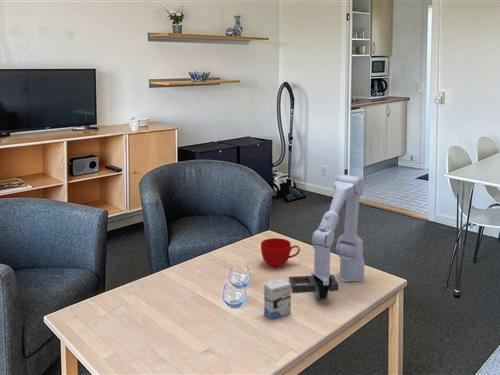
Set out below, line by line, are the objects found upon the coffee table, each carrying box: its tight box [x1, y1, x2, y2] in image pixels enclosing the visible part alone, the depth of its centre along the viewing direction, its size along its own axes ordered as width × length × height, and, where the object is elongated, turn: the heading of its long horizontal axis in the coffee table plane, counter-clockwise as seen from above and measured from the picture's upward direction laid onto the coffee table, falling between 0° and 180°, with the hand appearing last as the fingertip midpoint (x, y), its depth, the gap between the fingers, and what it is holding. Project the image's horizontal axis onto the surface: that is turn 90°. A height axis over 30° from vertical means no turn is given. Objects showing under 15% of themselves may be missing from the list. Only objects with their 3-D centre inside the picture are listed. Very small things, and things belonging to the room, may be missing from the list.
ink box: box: [263, 278, 292, 320], centre depth 178 cm, size 8×5×12 cm, turn 117°
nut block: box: [313, 281, 330, 302], centre depth 190 cm, size 4×4×6 cm
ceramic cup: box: [260, 237, 301, 269], centre depth 219 cm, size 13×17×10 cm
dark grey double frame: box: [288, 274, 339, 293], centre depth 200 cm, size 18×9×2 cm, turn 95°
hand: (321, 294), depth 190 cm, fingers open, 5 cm apart
